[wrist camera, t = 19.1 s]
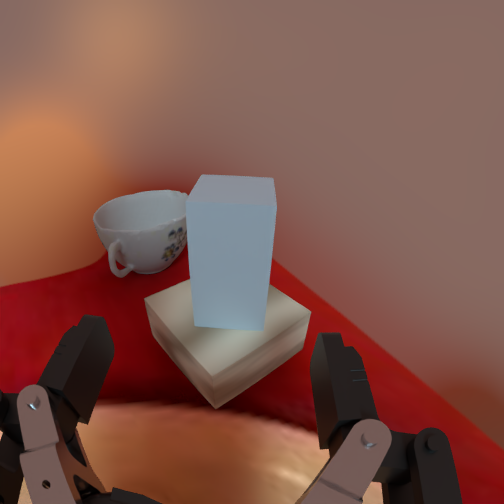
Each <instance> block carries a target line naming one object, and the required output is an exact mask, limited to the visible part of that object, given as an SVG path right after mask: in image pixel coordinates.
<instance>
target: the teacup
mask: <svg viewBox="0 0 504 504" xmlns="http://www.w3.org/2000/svg"><path fill="white" fill-rule="evenodd" d="M187 198H188V195H187V194H186V193H180V192H179V191H171V190H161V191H148V192H140V193H136V194H133V195H126V196H122V197H119V198H116V199H113V200H111V201H109V202H107V203H105V204H104V205H102V206H101V207H100V208H99V209H98V210H97V211H96V213H95V214H94V218H93V221H94V224H95V228H96V231H97V233H98V236H99V238H100V240H101V242H102V244H103V245H104V247H105V248H106V250H107V251H108V257H109V265H110V269H111V271H112V273H113V274H114V275H116V276H117V277H121V278H123V277H124V276H126V275H127V274H128V273H129V272H130V271H132V270H133V271H135V272H137V273H141V274H152V273H157V272H160V271H162V270H164V269H166V268H167V267H169V266H170V265H171V264H172V262H173V261H174V260H175V259H176V258H177V257H178V256H179V255H180V253H181V252H182V250H183V249H184V247H185V245H186V244H187V224H186V202H185V201H186V200H187ZM115 261H118V262H119V263H120V264H122V265H123V266H125V267H126V268H125V269H123V270H119V269H117V266H116V262H115Z"/></svg>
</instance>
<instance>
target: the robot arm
mask: <svg viewBox="0 0 504 504" xmlns="http://www.w3.org/2000/svg"><path fill="white" fill-rule="evenodd" d="M113 357H114V343H113V340H112V338H111V335H110V332H109V330H108V327H107V324H106V321H105V319H104V318H103V317H100V316H93V315H84V316H83V317H82V319H81V320H80V322H79V324H78V326H73V327H71V328H70V329H69V330H68V331H67V332H66V333H65V334H64V335H63V337H62V339H61V340H60V342H59V346H57V347H56V349H55V351H54V354H53V355H52V356H51V358H50V360H49V362H48V364H47V366H46V367H45V369H44V371H43V373H42V375H41V377H40V379H39V381H38V383H37V384H36V385H30V386H27V387H25V388H24V389H23V390H22V391H21V392H20V394H17V393H3V392H2V391H1V389H0V430H1V431H2V432H3V435H2V437H1V440H0V504H18V499H19V495H20V490H21V486H22V482H23V478H25V481H26V485H27V488H28V491H29V494H30V497H31V500H32V503H33V504H162V503H159V502H157V501H155V500H153V499H150V498H148V497H146V496H144V495H141V494H137V493H133V492H129V491H125V490H121V489H118V488H114V487H113V489H112V492H106V490H105V488H104V486H103V484H102V483H101V481H100V479H99V478H98V477H97V475H96V474H95V473H94V471H93V469H92V467H91V465H90V463H89V460H88V458H87V455H86V453H85V450H84V447H83V445H82V442H81V439H80V436H79V434H78V431H77V429H76V426H77V423H78V422H81V423H84V424H87V425H88V423H89V420H90V417H91V414H92V411H93V409H94V406H95V403H96V400H97V398H98V395H99V392H100V390H101V387H102V385H103V382H104V380H105V377H106V374H107V372H108V369H109V367H110V365H111V362H112V360H113ZM310 376H311V383H312V390H313V398H314V405H315V413H316V421H317V429H318V437H319V446H320V449H329V454H330V458H329V459H328V461H327V462H326V464H325V465H324V466H323V468H322V469H321V471H320V472H319V473H318V475H317V476H316V477H315V479H314V480H313V481H312V483H311V484H310V485H309V487H308V488H307V489H306V491H305V492H304V493H303V494H302V496H301V497H300V498H299V499H298V500H297V501H296V502H295V504H362V502H363V500H362V497H363V495H364V493H365V491H366V490H367V488H368V486H369V485H370V483H371V481H372V482H380V483H381V484H382V494H383V504H462V498H461V493H460V488H459V483H458V478H457V473H456V469H455V464H454V460H453V456H452V452H451V448H450V444H449V441H448V438H447V436H446V435H445V433H443V432H442V431H441V430H439V429H437V428H426V429H423V430H422V431H420V432H419V433H418V434H408V433H401V432H395V431H392V430H390V429H388V427H387V426H386V425H385V424H384V423H382V422H381V421H380V420H379V418H378V415H377V411H376V408H375V404H374V400H373V396H372V393H371V389H370V385H369V382H368V381H367V375H366V371H365V368H364V365H363V361H362V358H361V356H360V355H359V354H358V352H357V351H356V350H355V349H354V347H353V346H350V347H344V344H343V340H342V337H341V334H340V333H319V334H318V336H317V340H316V343H315V347H314V350H313V354H312V357H311V362H310Z"/></svg>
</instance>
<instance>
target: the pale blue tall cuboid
mask: <svg viewBox="0 0 504 504" xmlns="http://www.w3.org/2000/svg"><path fill="white" fill-rule="evenodd" d="M185 202H186V224H187V241H188V256H189V270H190V282H191V294H192V304H193V315H194V324H195V326H197V327H209V328H222V329H236V330H252V331H264V323H265V314H266V305H267V297H268V287H269V278H270V269H271V260H272V250H273V240H274V230H275V220H276V210H277V203H276V196H275V187H274V179H273V178H263V177H246V176H226V175H225V176H224V175H201V177H200V178H199V180H198V181H197V183H196V185H195V186H194V188H193V190H192V191H191V193H190V195H189V196H188V198H187V200H186V201H185Z"/></svg>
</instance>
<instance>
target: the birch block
mask: <svg viewBox="0 0 504 504" xmlns="http://www.w3.org/2000/svg"><path fill="white" fill-rule="evenodd" d="M144 301H145V305H146V309H147V314H148V318H149V322H150V326H151V330H152V334H153V336H154V338H155V339H156V340H157V342H158V343H159V344H160V345H161V347H162V348H163V349H164V351H165V352H166V353H167V354H168V355H169V357H170V358H171V359H172V360H173V362H174V363H175V364H176V365H177V366H178V368H179V369H180V370H181V371H182V372H183V374H184V375H185V376H186V377H187V378H188V379H189V380H190V382H191V383H192V384H193V385H194V386H195V387H196V388H197V390H198V391H199V392H200V393H201V394H202V395H203V396H204V397H205V398H206V399H207V401H208V402H209V403H210V404H211V405H212V406H213V407H214V408H215V409H217V408H218V407H220V406H222V405H223V404H225V403H226V402H228V401H229V400H231V399H232V398H234V397H235V396H237V395H238V394H240V393H241V392H243V391H244V390H246V389H247V388H249V387H250V386H252V385H253V384H255V383H256V382H258V381H259V380H260V379H262V378H263V377H265V376H266V375H268V374H269V373H270V372H272V371H273V370H275V369H276V368H277V367H279V366H280V365H281V364H283V363H284V362H285V361H287V360H288V359H289V358H291V357H292V356H293V355H295V354H296V353H297V352H299V351H300V350H301V349H302V348H303V344H304V340H305V336H306V332H307V328H308V323H309V319H310V314H311V311H309V310H308V309H306V308H305V307H303V306H302V305H300V304H299V303H297V302H296V301H294V300H293V299H291V298H290V297H288V296H287V295H285V294H284V293H282V292H280V291H279V290H277V289H276V288H274V287H273V286H271V285H270V284H269V287H268V297H267V305H266V314H265V323H264V331H252V330H236V329H222V328H209V327H197V326H195V324H194V315H193V304H192V294H191V282H190V279H189V280H186V281H184V282H182V283H179V284H177V285H175V286H172V287H170V288H168V289H165V290H163V291H161V292H158V293H156V294H153V295H151V296H149V297H146V298H144Z"/></svg>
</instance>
